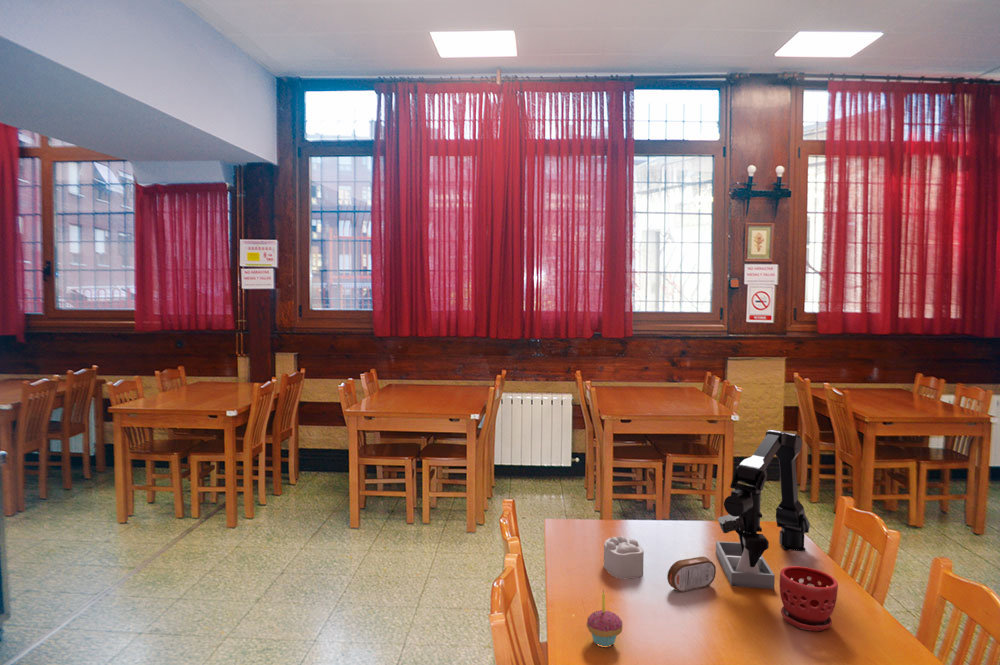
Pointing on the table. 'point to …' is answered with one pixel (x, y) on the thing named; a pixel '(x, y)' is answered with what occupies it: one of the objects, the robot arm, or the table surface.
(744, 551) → the flask
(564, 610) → the table surface
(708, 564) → the tin
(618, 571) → the lumpy-topped squat cylinder
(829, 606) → the plant pot
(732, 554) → the caddy
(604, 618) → the cupcake
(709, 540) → the table surface
